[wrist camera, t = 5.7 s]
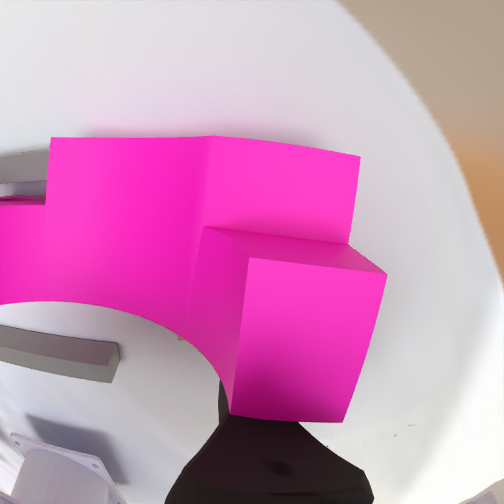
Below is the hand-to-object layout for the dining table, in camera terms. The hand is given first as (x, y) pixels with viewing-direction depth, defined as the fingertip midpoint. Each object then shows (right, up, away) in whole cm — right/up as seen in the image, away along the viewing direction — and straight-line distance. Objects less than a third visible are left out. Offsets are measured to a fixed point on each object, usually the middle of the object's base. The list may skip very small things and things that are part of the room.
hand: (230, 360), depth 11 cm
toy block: (-4, +5, +2) cm, 7 cm away
